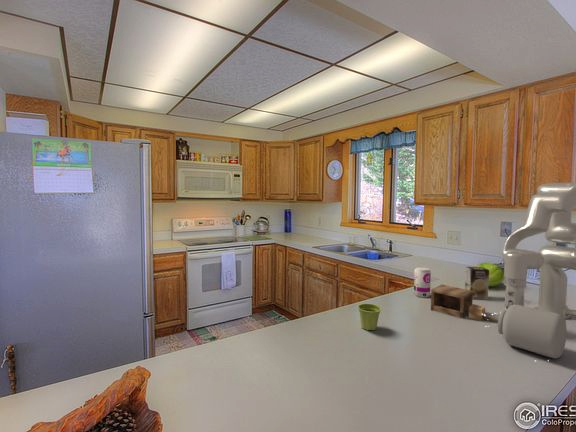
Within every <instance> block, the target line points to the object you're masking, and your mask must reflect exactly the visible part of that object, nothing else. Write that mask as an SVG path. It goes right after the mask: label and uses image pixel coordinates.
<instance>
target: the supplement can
mask: <svg viewBox="0 0 576 432" xmlns="http://www.w3.org/2000/svg"><path fill="white" fill-rule="evenodd" d="M413 275H414V276H413V278H414V279H413V295H415V297H418V298H422V299H423V298H425V299H426V298H429V297H431V284H432V283H431V280H432V279H431V278H432V277H431V275H432V272H431V269H430V268H428V267H424V266H423V267H422V266H416V267H415V269H414V272H413Z"/></svg>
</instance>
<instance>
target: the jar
mask: <svg viewBox="0 0 576 432" xmlns="http://www.w3.org/2000/svg"><path fill="white" fill-rule="evenodd" d="M534 308H535V307H529V306H525V305H524V306H521V305H515V304H514V305H511V306H510V307H509V308H508V309H507V310H506V309H505V308H504V309H501V310H500V312H499V315H498V319H497V320H498V322H497V331H498V334H499V335H502V337H503V339H504V341H505V342H506V344H508V345H509V346H512V347H515V348H518V349H520V350H524V351H528V352H531V353H534V354H537V355H541V356H543V357H547V358H550V359H555V360H556V359H559V358H560V357H561V356H562V355H563V353H564V351H565V347H566V344H567V343H566V341H567V329H568V328H567V321H566V319H564V318H563V317H562V316H561V315H560V314H557V313H552V312H548V311H543V310H539V309H534ZM495 314H496V312H494V314H493V313H492V314H491V315H492V316H493V315H495ZM482 315H483V314H482ZM484 316H485V317H487V316H486V314H485V315H484ZM486 320H487V321H489V320H488V319H486ZM484 327H485V328H487V327H490V326H489V325H488V326H487V325H485V326H484ZM550 359H548V360H547V362H549V360H550ZM534 362H537V360H534Z"/></svg>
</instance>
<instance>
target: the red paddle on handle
mask: <svg viewBox="0 0 576 432" xmlns="http://www.w3.org/2000/svg"><path fill="white" fill-rule="evenodd" d="M482 314H483V315H482ZM484 315H486V306H482V305H479V304H474V303H472V305H471V306H469V312H468V318H469V319H473V320H477V321H481V322H482V321H483V320H484V319H485V320H487V319H488V320H487V321H492V322H497V323H498V319H497V318H492V317H489V316H484Z"/></svg>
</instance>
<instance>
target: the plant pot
mask: <svg viewBox="0 0 576 432" xmlns="http://www.w3.org/2000/svg"><path fill="white" fill-rule="evenodd" d="M357 308H358V310H359V311H358V312H359V316H360V325H361V328H362V329H363V330H365V329H366V330H365V331H368V330H373V331H376V330H377V329H378V328H377V327H378V323H379V317H380V314H381V311H382V308H381V306H379V305H377V304H374V303H367V302H366V303H360V304H359V305H357Z"/></svg>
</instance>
